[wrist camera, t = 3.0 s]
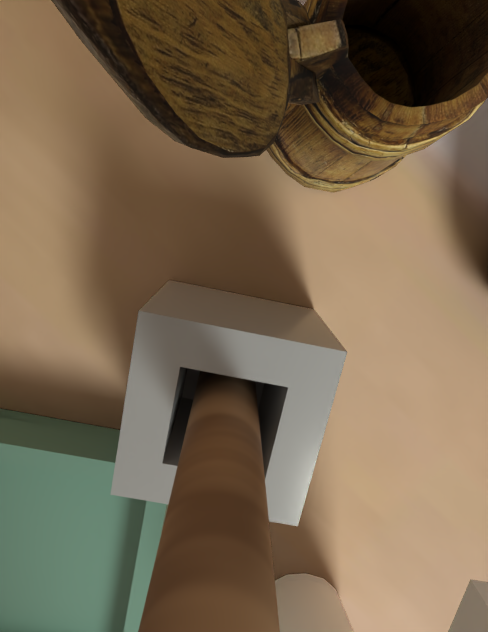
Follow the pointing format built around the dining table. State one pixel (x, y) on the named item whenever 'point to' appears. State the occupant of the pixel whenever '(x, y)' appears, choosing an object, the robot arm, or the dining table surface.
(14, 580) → the tray
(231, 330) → the grey hollow square block
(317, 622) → the foam cup
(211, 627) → the dowel
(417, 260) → the dining table surface
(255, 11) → the wooden mug
